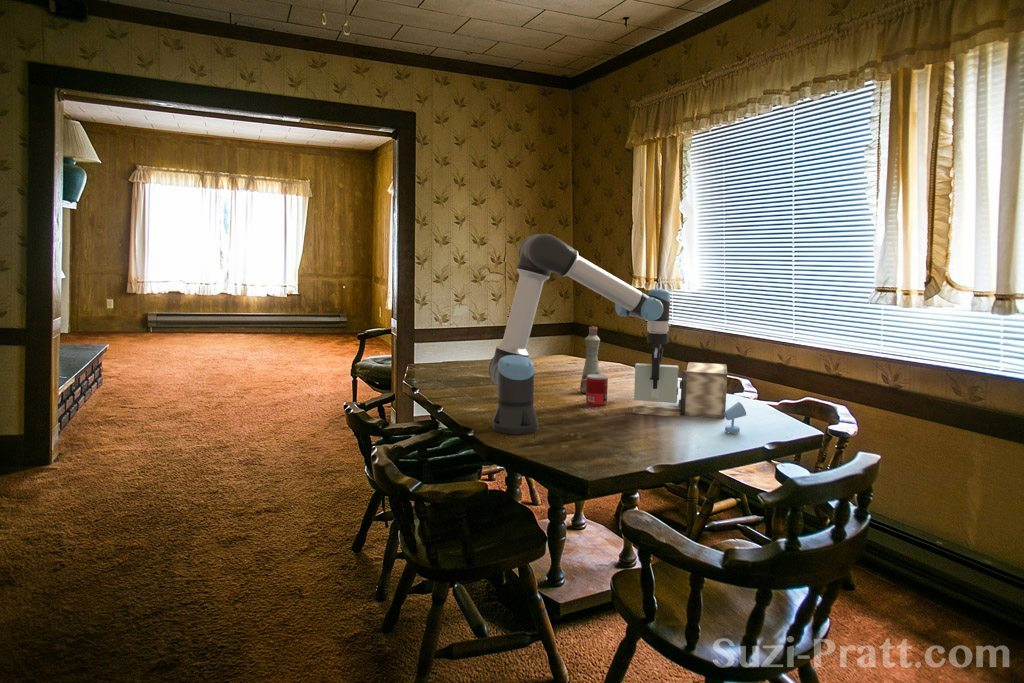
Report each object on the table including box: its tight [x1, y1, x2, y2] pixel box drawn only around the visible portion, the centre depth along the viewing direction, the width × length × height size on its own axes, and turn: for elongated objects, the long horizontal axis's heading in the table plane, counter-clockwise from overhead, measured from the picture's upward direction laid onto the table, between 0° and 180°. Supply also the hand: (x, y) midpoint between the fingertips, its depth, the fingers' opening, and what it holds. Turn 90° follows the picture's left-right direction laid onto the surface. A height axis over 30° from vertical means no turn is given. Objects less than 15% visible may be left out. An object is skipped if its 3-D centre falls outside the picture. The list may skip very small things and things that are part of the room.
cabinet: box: [632, 361, 728, 419], centre depth 246 cm, size 32×25×16 cm
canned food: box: [585, 374, 609, 407], centre depth 253 cm, size 8×8×11 cm
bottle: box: [579, 325, 601, 395], centre depth 273 cm, size 9×9×28 cm
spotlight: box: [724, 401, 747, 434], centre depth 215 cm, size 5×10×7 cm
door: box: [633, 362, 680, 404], centre depth 240 cm, size 15×4×13 cm, turn 73°
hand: (655, 395), depth 241 cm, fingers closed on door, 4 cm apart
